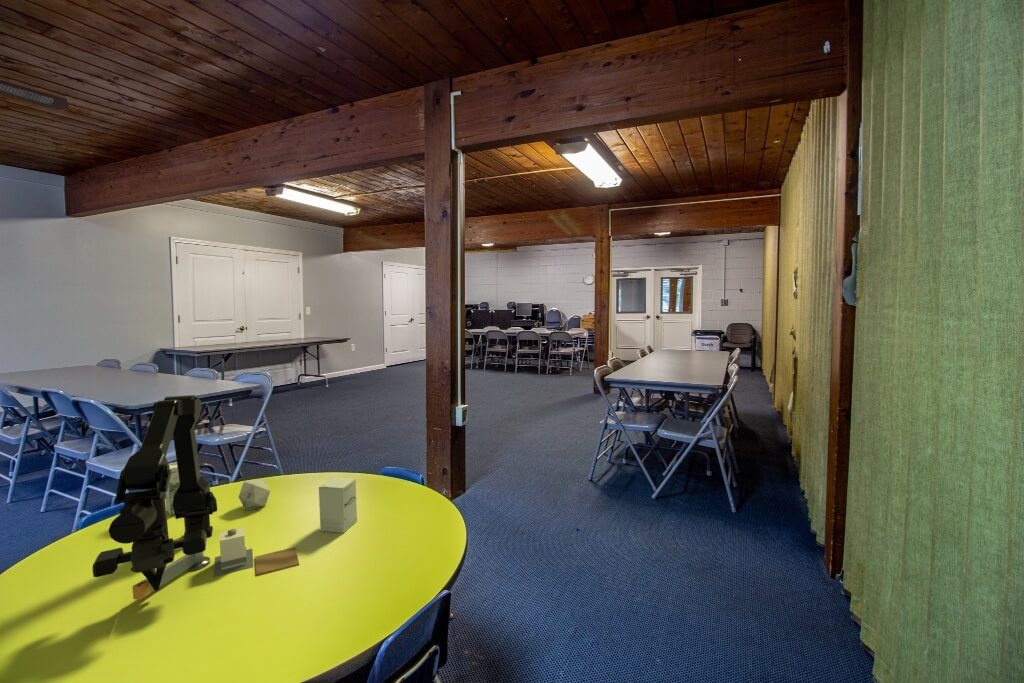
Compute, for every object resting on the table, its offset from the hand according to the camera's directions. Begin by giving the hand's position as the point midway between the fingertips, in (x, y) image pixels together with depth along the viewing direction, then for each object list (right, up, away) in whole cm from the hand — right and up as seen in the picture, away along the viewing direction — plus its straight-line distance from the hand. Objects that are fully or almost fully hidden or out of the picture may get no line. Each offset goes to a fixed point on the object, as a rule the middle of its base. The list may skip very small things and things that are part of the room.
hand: (157, 589), depth 103 cm
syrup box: (-26, +1, +44) cm, 51 cm away
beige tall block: (+8, 0, +14) cm, 16 cm away
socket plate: (+8, -1, +14) cm, 16 cm away
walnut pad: (+19, -1, +14) cm, 23 cm away
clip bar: (-1, 0, +6) cm, 6 cm away
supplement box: (+27, +1, +33) cm, 42 cm away
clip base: (0, -1, +13) cm, 13 cm away
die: (-4, +2, +46) cm, 46 cm away
